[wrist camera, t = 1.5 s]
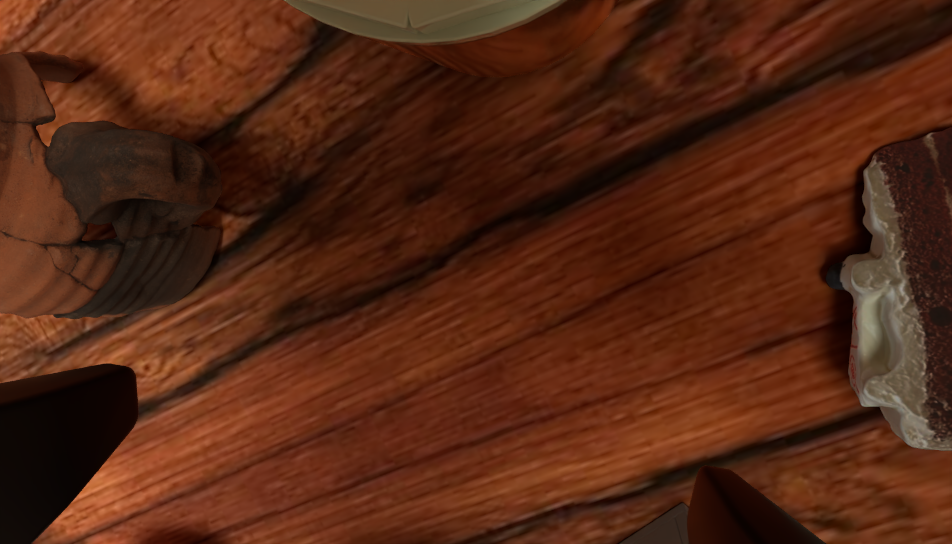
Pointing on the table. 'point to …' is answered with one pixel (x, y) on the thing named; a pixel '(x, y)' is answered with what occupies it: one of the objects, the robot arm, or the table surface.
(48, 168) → the brown ring
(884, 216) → the chocolate cake
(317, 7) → the lidded wooden canister
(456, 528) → the table surface
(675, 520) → the bin
